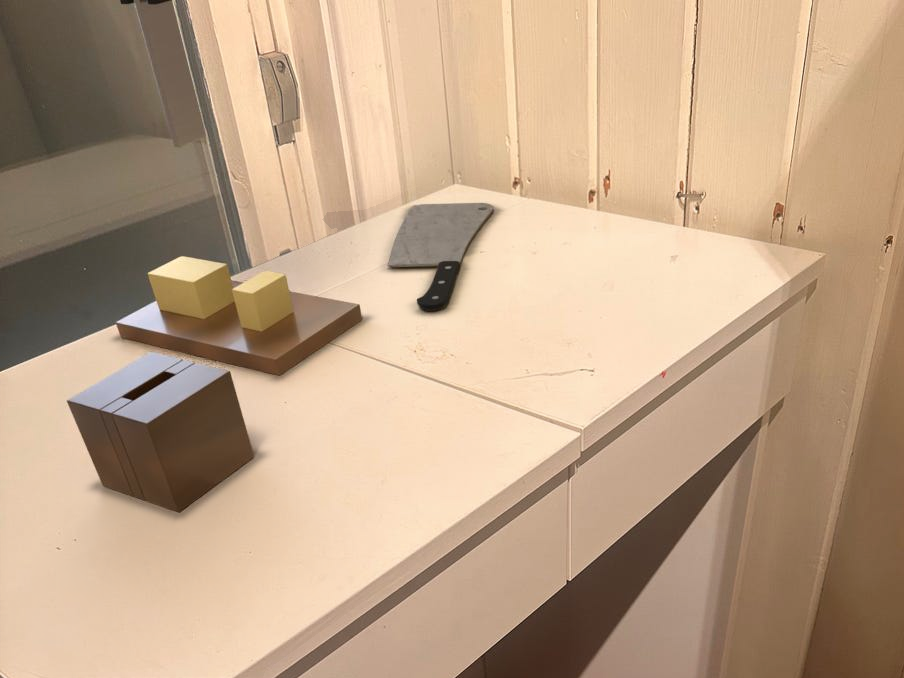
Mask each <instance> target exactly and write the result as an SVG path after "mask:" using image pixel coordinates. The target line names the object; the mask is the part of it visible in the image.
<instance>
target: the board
mask: <svg viewBox="0 0 904 678" xmlns="http://www.w3.org/2000/svg"><path fill="white" fill-rule="evenodd" d="M231 281H232V284H233V288H235V287H237V286H239V285H241V284H242V283H244V282H245V281H237V280H233V279H231ZM289 292H290V297H291V301H292V306H293V310H294V312H293V313H291V314H290V315H288V316H287V317H285V318H283V319H282V320H280V321H279V322H277V323H275V324H274V325H272V326H271V327H269V328H267V329H266V330H264V331H262V332H261V331H256V330H251V329H247V328H242V327H241V323H240V319H239V316H238V312H237V308H236V304H235V302H233V303H232V304H230V305H228V306H226V307H225V308H223V309H221V310H220V311H218V312H216V313H214V314H213V315H211V316H209V317H207V318H206V319H201V318H196V317H191V316H187V315H182V314H178V313H173V312H168V311H164V310H159V307H158V304H157V301H156V300H155V301H153V302H150V303H149V304H147V305H145V306H144V307H142V308H140V309H138V310H135V311H134V312H132V313H130V314H129V315H127V316H125V317H123V318H121V319H119V320H117V321H115V325H116V327H117V330H118V333H119V336H120V338H122V339H126V340H131V341H134V342H138V343H143V344H146V345H151V346H155V347H160V348H162V349H163V348H164V349H168V350H172V351H175V352H176V351H177V352H179V353H183V354H187V355H193V356H197V357H200V358H205V359H209V360H213V361H218V362H221V363H226V364H229V365H234V366H238V367H242V368H246V369H250V370H253V371H258V372H263V373H267V374H271V375H276V376H281V375H283V374H285V373H286V372H287V371H289V370H290V369H291V368H293V367H295V366H296V365H298V364H299V363H300V362H302V361H303V360H305V359H307V358H308V357H309V356H310V355H312V354H314V353H315V352H317V351H318V350H320V349H322V348H323V347H324V346H325V345H327V344H329V343H330V342H332V341H333V340H334V339H336V338H337V337H339V336H340V335H342V334H344V333H345V332H347V330H350V329H351V328H352V327H353V326H355V325H357V324H358V323H359V322H361V321H362V320H363V316H362V309H361V304H359V303H355V302H349V301H344V300H338V299H333V298H328V297H323V296H318V295H311V294H306V293H302V292H298V291H297V292H296V291H291V290H289Z"/></svg>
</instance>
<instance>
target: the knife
mask: <svg viewBox="0 0 904 678" xmlns="http://www.w3.org/2000/svg"><path fill="white" fill-rule="evenodd" d="M133 5H134V7H135V11H136V13H137V18H138V21H139V25H140V28H141V31H142V36H143V39H144V43H145V46H146V50H147V53H148V57H149V60H150V64H151V69H152V72H153V75H154V79H155V83H156V86H157V90H158V93H159V97H160V100H161V104H162V108H163V112H164V116H165V119H166V123H167V126H168V129H169V133H170V136H171V139H172V144H173V146H174V148H179V149H181V148H183V147H185V146H188V145H191V144H193V143H195V142H198V141H200V140H202V139H204V138H207V133H206V129H205V124H204V121H203V117H202V114H201V109H200V105H199V102H198V97H197V94H196V90H195V86H194V81H193V77H192V74H191V71H190V66H189V63H188V59H187V54H186V51H185V46H184V43H183V38H182V35H181V30H180V27H179V23H178V19H177V16H176V11H175V7H174V4H173V0H171V1H167V2H164V3H160V4H148V1H147V0H134V3H133Z"/></svg>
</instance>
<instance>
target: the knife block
mask: <svg viewBox="0 0 904 678" xmlns="http://www.w3.org/2000/svg"><path fill="white" fill-rule="evenodd" d="M66 403H67V405H68V407H69V410H70V412H71V414H72V417H73V420H74V422H75V424H76V426H77V429H78V431H79V433H80V437H81V438H82V441H83V442H84V445H85V448H86V450H87V452H88V454H89V457H90V460H91V462H92V464H93V467H94V468H95V471H96V473H97V477H98V478H99V480H100V484H101V485H102V486H103V487H106V488H108V489H111V490H113V491H116V492H120V493H122V494H125V495H128V496H131V497H134V498H137V499H139V500H142V501H146V502H148V503H151V504H154V505H157V506H159V507H163V508H165V509H169V510H171V511H174V512H177V513H181V511H183V510H184V509H186V508H187V507H188V506H189V505H191V504H192V503H194V502H195V501H196V500H198V499H199V498H201V497H202V496H203V495H205V494H206V493H207V492H209V491H210V490H211V489H213V488H214V487H216V486H217V485H218V484H219V483H221V482H222V481H224V480H225V479H226V478H228V477H229V476H230V475H232V474H233V473H234V472H236V471H237V470H238V469H240V468H241V467H243V466H244V465H245V464H246V463H248V462H249V461H251V460H252V459H254V458H255V454H254V450H253V446H252V443H251V440H250V436H249V432H248V429H247V425H246V422H245V418H244V414H243V412H242V408H241V403H240V401H239V397H238V394H237V391H236V387H235V385H234V380H233V376H232V373H231V371H230V370H228V369H227V370H226V369H224V368H219V367H215V366H211V365H206V364H204V363H203V364H202V363H199V362H195V361H190V360H187V359H183V358H179V357H174V356H171V355H167V354H163V353H159V352H154V351H150V352H148V353H147V354H145V355H143V356H141V357H139V358H138V359H136V360H134V361H133V362H131V363H129V364H128V365H126V366H124V367H122V368H121V369H118V370H117V371H115V372H114V373H112V374H110V375H108V376H107V377H105V378H103V379H101V380H100V381H98V382H96V383H94V384H92V385H91V386H89V387H88V388H86V389H83V390H82V391H80V392H79V393H77V394H75V395H74V396H72V397H70V398H69V399H67V400H66Z"/></svg>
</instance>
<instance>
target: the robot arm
mask: <svg viewBox="0 0 904 678" xmlns="http://www.w3.org/2000/svg"><path fill="white" fill-rule="evenodd" d="M119 1H120V5H132V4H134V0H119ZM147 1H148V4H160V3H164V2H167V1H171V0H147Z"/></svg>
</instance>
